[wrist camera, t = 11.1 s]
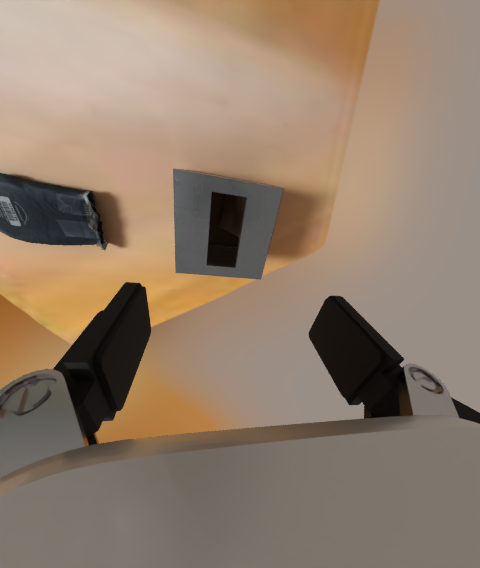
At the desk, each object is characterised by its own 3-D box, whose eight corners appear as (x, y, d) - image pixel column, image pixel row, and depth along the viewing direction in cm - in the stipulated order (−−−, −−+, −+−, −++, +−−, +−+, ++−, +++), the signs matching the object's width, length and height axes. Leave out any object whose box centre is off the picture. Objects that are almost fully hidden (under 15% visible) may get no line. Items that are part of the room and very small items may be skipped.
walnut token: (227, 188, 28) (251, 196, 25) (235, 190, 29) (259, 198, 27) (219, 227, 31) (240, 238, 28) (227, 227, 32) (248, 237, 30)
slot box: (185, 169, 27) (173, 168, 18) (263, 183, 29) (283, 188, 21) (185, 246, 33) (175, 272, 24) (249, 253, 35) (260, 279, 27)
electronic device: (99, 182, 28) (-38, 165, 23) (85, 191, 24) (-83, 174, 19) (115, 238, 34) (7, 233, 29) (106, 253, 29) (-21, 251, 25)
